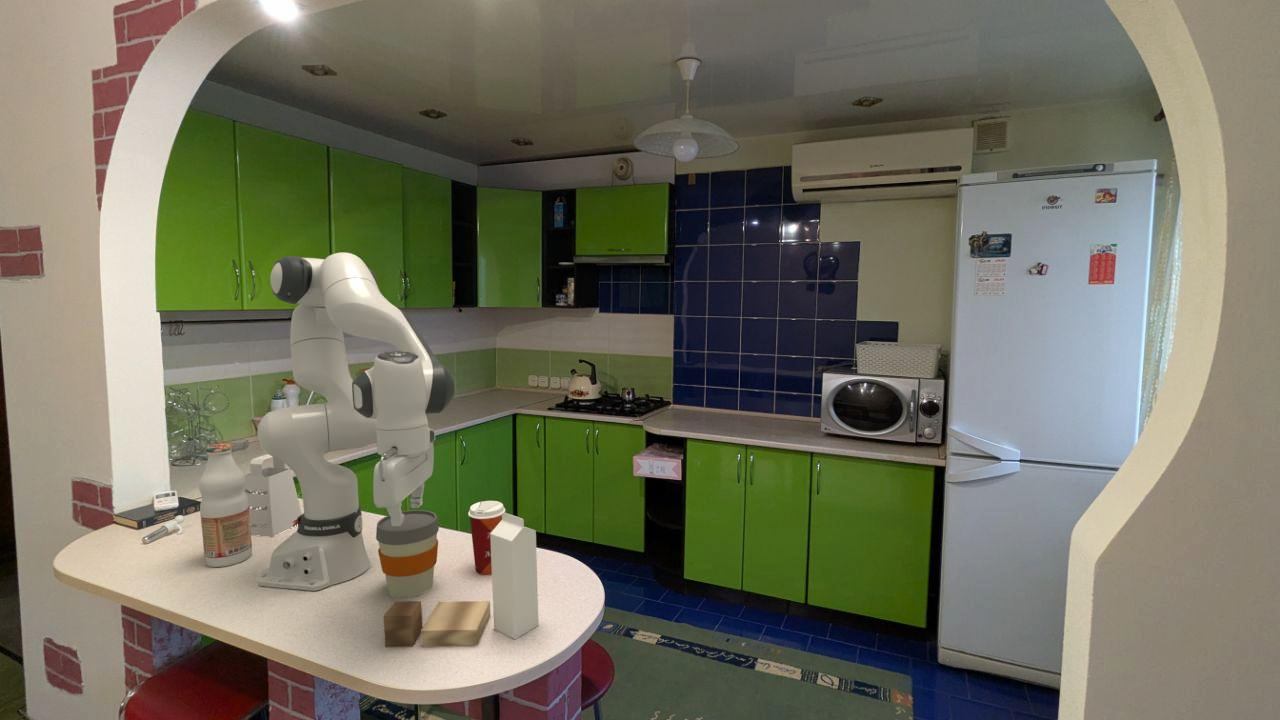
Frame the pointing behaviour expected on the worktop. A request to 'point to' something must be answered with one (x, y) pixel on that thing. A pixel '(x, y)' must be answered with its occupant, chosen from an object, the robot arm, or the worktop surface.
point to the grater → (271, 497)
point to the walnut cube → (403, 624)
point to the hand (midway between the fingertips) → (407, 515)
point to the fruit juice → (224, 509)
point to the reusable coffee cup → (408, 552)
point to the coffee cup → (484, 532)
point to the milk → (514, 577)
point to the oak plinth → (456, 624)
